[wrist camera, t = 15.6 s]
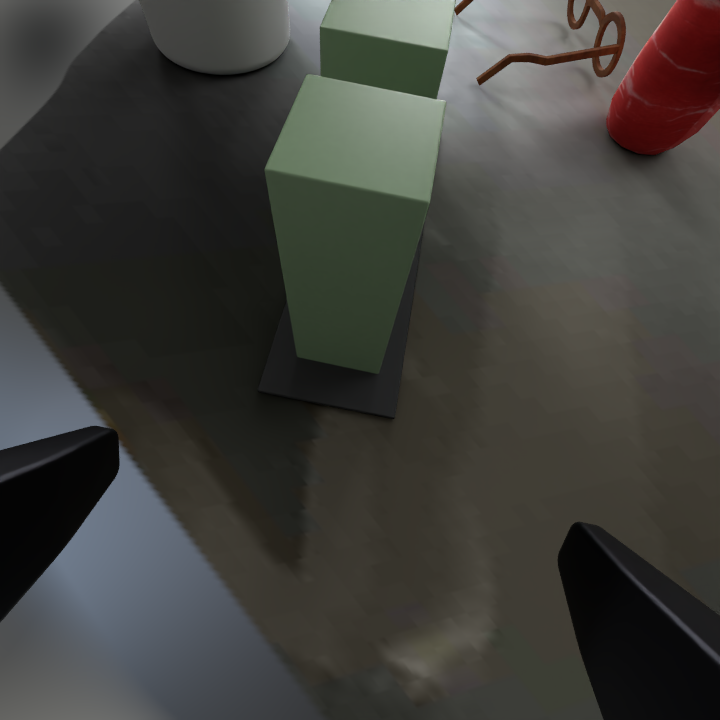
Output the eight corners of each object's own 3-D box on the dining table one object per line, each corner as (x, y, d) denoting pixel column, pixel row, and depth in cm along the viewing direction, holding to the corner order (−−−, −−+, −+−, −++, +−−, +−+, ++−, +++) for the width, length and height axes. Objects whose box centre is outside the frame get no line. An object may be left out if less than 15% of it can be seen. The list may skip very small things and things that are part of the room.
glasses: (604, 91, 38) (641, 30, 33) (475, 86, 37) (496, 22, 32) (564, 18, 43) (592, -43, 39) (451, 12, 42) (466, -52, 37)
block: (378, 374, 23) (429, 202, 11) (296, 357, 23) (263, 169, 11) (391, 305, 25) (447, 100, 13) (316, 290, 25) (306, 72, 14)
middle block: (395, 267, 26) (448, 50, 15) (323, 253, 27) (319, 26, 15) (405, 214, 29) (457, -12, 17) (338, 201, 29) (345, -34, 17)
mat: (394, 419, 22) (394, 417, 22) (258, 391, 22) (257, 390, 22) (437, 132, 33) (438, 128, 33) (346, 114, 33) (346, 111, 33)
